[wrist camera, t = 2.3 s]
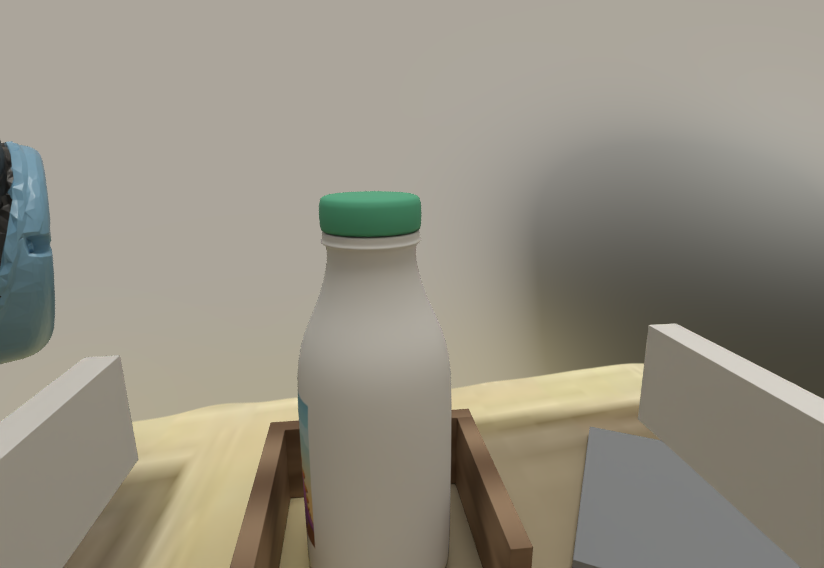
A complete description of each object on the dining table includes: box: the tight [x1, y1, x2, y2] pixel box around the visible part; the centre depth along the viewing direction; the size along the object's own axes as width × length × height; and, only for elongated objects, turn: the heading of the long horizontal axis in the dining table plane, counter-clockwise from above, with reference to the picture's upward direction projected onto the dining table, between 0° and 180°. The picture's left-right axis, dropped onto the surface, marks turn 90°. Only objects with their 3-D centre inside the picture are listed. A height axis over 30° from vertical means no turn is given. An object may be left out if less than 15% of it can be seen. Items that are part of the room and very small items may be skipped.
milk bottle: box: [297, 191, 451, 568], centre depth 25 cm, size 8×8×20 cm
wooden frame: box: [230, 409, 533, 568], centre depth 27 cm, size 12×13×5 cm
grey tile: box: [572, 427, 801, 568], centre depth 30 cm, size 14×14×1 cm
